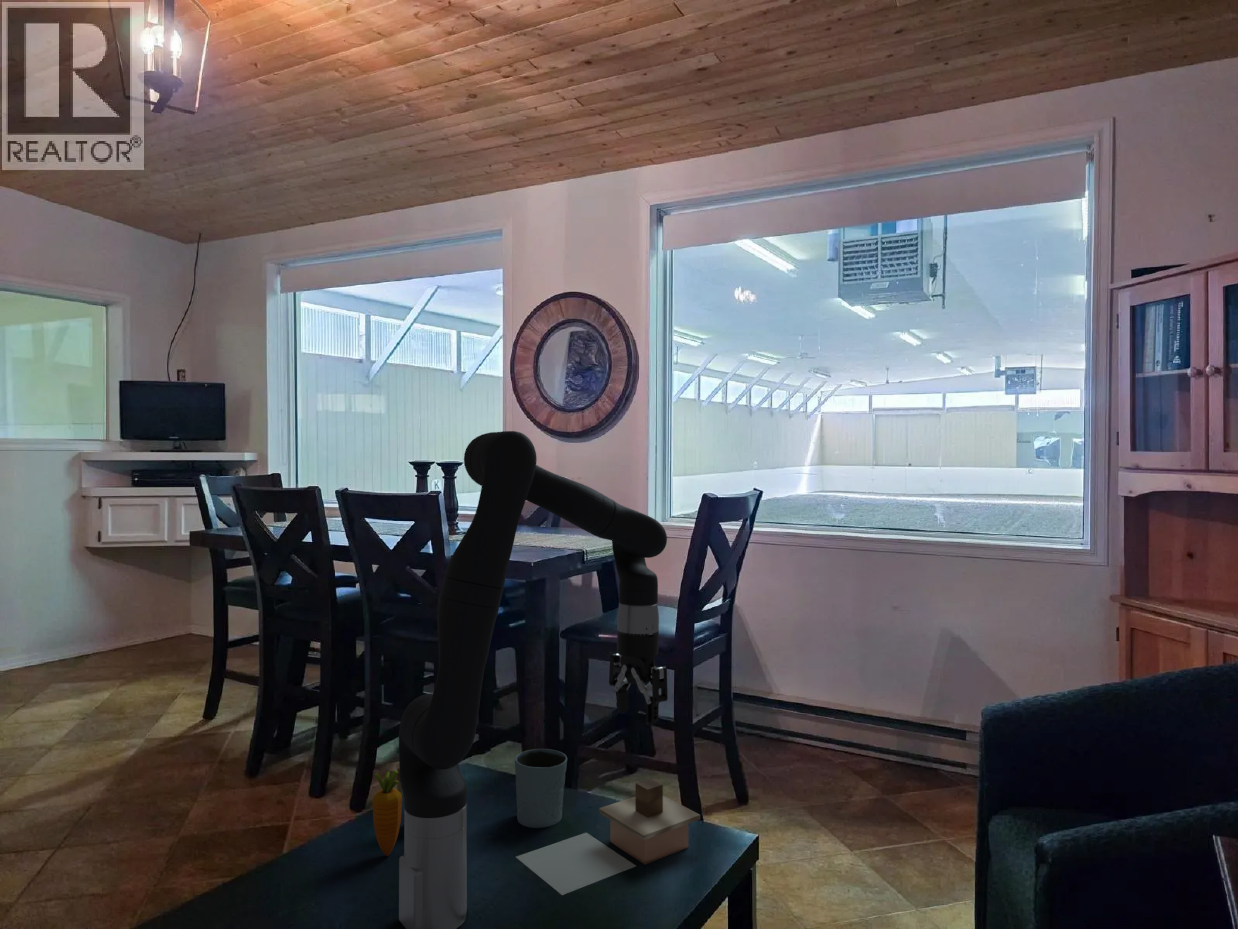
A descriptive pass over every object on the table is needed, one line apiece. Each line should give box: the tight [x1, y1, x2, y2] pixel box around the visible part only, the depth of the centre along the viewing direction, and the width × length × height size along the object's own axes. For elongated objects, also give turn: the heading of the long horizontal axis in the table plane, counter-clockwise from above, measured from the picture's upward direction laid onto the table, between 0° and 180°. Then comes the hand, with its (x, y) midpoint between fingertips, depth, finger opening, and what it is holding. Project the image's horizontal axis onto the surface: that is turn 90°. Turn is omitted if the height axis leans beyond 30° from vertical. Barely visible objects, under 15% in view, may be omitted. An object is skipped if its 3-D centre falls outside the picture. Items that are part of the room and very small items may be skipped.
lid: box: [598, 778, 701, 840], centre depth 138 cm, size 13×13×6 cm
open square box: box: [609, 819, 689, 865], centre depth 138 cm, size 10×10×6 cm
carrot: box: [372, 769, 403, 857], centre depth 135 cm, size 5×5×15 cm
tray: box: [515, 832, 637, 896], centre depth 132 cm, size 15×15×1 cm
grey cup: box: [514, 748, 568, 829], centre depth 149 cm, size 10×10×12 cm
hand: (636, 717), depth 139 cm, fingers open, 8 cm apart
